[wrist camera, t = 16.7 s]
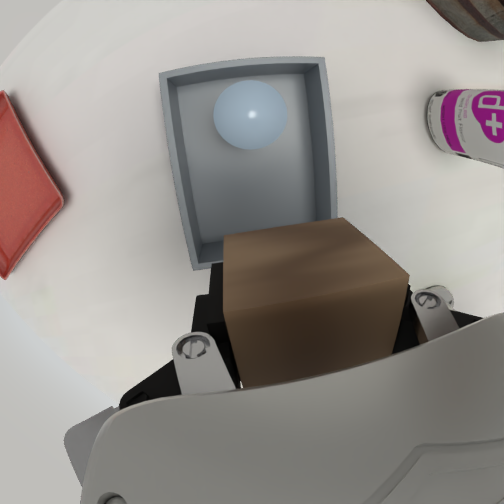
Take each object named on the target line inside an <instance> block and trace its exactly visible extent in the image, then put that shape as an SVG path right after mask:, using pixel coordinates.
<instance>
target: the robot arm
mask: <svg viewBox="0 0 504 504" xmlns="http://www.w3.org/2000/svg"><path fill="white" fill-rule="evenodd" d="M453 305H454V300H453V296H452V294H451V293H450V291H449V290H447V289H446V288H445V287H442V286H435V287H431V288H429V289H427V290H417V291H415V292H414V293H413V292H412V291H411V290H410V285H409V284H408V287H407V292H406V297H405V302H404V307H403V311H402V316H401V320H400V324H399V328H398V332H397V336H396V340H395V343H394V347H393V350H392V354H391V355H389V356H386V357H383V358H380V359H377V360H373V361H370V362H366V363H363V364H359V365H356V366H352V367H349V368H345V369H341V370H337V371H333V372H329V373H324V374H320V375H316V376H311V377H306V378H301V379H296V380H291V381H286V382H280V383H275V384H268V385H262V386H255V387H248V388H241V384H240V381H241V378H240V375H239V371H238V368H237V364H236V360H235V356H234V353H233V349H232V345H231V341H230V337H229V333H228V330H227V326H226V322H225V318H224V314H223V262H219V263H212V264H211V275H210V286H209V294H205V295H198V296H197V297H196V302H195V309H194V316H193V323H192V330H191V333H188V334H185V335H183V336H181V337H180V338H178V339H177V340H176V341H175V342H174V344H173V346H172V355H173V360H171V361H170V362H169V363H167V364H166V365H164V366H163V367H162V368H160V369H159V370H157V371H156V372H155V373H153V374H152V375H150V376H149V377H147V378H146V379H145V380H143V381H142V382H140V383H139V384H137V385H136V386H134V387H133V388H132V389H130V390H129V391H127V392H126V393H125V394H124V395H123V397H122V398H121V400H120V404H119V406H118V407H117V408H115V409H114V408H113V407H112V406H111V407H109V408H107V409H106V410H104V411H102V412H100V413H98V414H96V415H94V416H93V417H91V418H89V419H87V420H85V421H83V422H81V423H79V424H77V425H75V426H73V427H72V428H70V429H69V430H68V431H67V433H66V434H65V438H64V445H65V448H66V451H67V453H68V456H69V458H70V461H71V463H72V466H73V468H74V470H75V473H76V475H77V477H78V480H79V482H80V484H81V486H82V494H81V501H80V504H504V313H499V314H495V315H491V316H489V317H486V318H482V317H477V316H473V315H469V314H465V313H461V312H457V311H455V310H454V309H453Z"/></svg>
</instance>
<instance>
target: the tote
mask: <svg viewBox="0 0 504 504" xmlns="http://www.w3.org/2000/svg"><path fill="white" fill-rule="evenodd" d="M246 80H255V81H260V82H263V83H266V84H268V85H270V86H271V87H273V88H274V89H275V90H277V91H278V92H279V94H280V95H281V96H282V98H283V100H284V102H285V104H286V107H287V122H286V126H285V128H284V130H283V132H282V134H281V135H280V136H279V137H278V138H277V140H275V141H274V142H273V143H271V144H270V145H268V146H266V147H263V148H260V149H252V150H248V149H241V148H238V147H235V146H233V145H231V144H230V143H228V142H227V141H225V140H224V139H223V138H222V137H221V135H220V134H219V133H218V131H217V129H216V126H215V124H214V118H213V112H214V106H215V103H216V101H217V99H218V97H219V96H220V94H221V93H222V92H223V91H224V90H225V89H226V88H228V87H229V86H231V85H233V84H235V83H237V82H241V81H246ZM159 82H160V91H161V99H162V107H163V114H164V122H165V129H166V135H167V142H168V148H169V155H170V161H171V166H172V172H173V178H174V183H175V189H176V194H177V199H178V204H179V209H180V214H181V219H182V224H183V229H184V233H185V238H186V242H187V247H188V251H189V255H190V260H191V264H192V268H193V271H194V270H201V269H208V268H211V264H212V263H219V262H223V252H224V235H229V234H235V233H241V232H247V231H254V230H260V229H267V228H273V227H280V226H286V225H293V224H300V223H307V222H314V221H321V220H328V219H335V218H337V180H336V160H335V145H334V132H333V121H332V111H331V102H330V93H329V85H328V78H327V71H326V64H325V58H324V57H262V58H248V59H237V60H228V61H220V62H213V63H207V64H201V65H195V66H190V67H184V68H180V69H175V70H170V71H166V72H162V73H159Z"/></svg>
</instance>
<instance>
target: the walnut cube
mask: <svg viewBox="0 0 504 504" xmlns="http://www.w3.org/2000/svg"><path fill="white" fill-rule="evenodd" d="M409 276H410V275H409V274H408V273H407V272H406V271H405V270H403V269H402V268H401V267H400V266H399V265H398V264H397V263H396V262H395V261H394V260H393V259H391V258H390V257H389V256H388V255H387V254H386V253H385V252H384V251H382V250H381V249H380V248H379V247H378V246H377V245H375V244H374V243H373V242H372V241H371V240H370V239H368V238H367V237H366V236H365V235H364V234H363V233H361V232H360V231H359V230H358V229H357V228H355V227H354V226H353V225H352V224H350V223H349V222H348V221H347V220H345V219H344V218H343V217H342V218H335V219H328V220H321V221H314V222H307V223H300V224H293V225H286V226H280V227H273V228H267V229H260V230H254V231H247V232H241V233H235V234H229V235H224V252H223V314H224V318H225V322H226V326H227V330H228V333H229V337H230V341H231V345H232V349H233V353H234V356H235V360H236V364H237V368H238V371H239V375H240V378H241V382H242V386H243V388H248V387H255V386H262V385H268V384H275V383H280V382H286V381H291V380H296V379H301V378H306V377H311V376H316V375H320V374H324V373H329V372H333V371H337V370H341V369H345V368H349V367H352V366H356V365H359V364H363V363H366V362H370V361H373V360H377V359H380V358H383V357H386V356H389V355H391V354H392V350H393V347H394V343H395V340H396V336H397V332H398V328H399V324H400V320H401V316H402V311H403V307H404V302H405V297H406V292H407V287H408V281H409Z"/></svg>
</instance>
